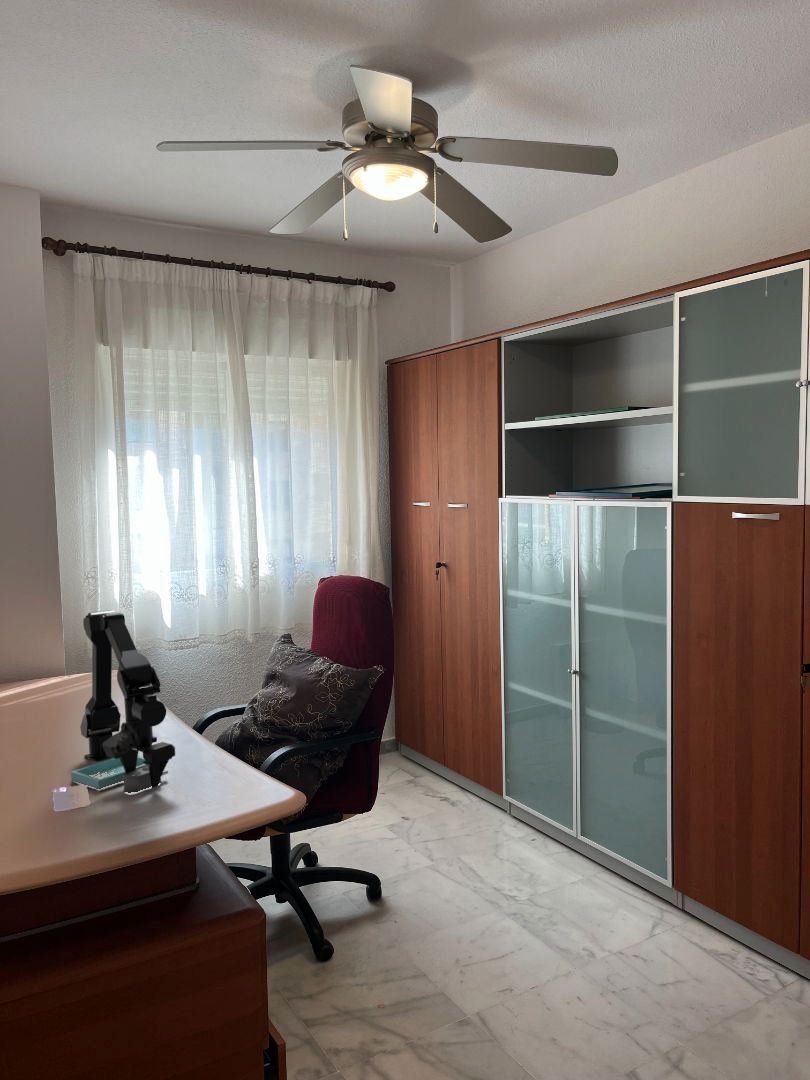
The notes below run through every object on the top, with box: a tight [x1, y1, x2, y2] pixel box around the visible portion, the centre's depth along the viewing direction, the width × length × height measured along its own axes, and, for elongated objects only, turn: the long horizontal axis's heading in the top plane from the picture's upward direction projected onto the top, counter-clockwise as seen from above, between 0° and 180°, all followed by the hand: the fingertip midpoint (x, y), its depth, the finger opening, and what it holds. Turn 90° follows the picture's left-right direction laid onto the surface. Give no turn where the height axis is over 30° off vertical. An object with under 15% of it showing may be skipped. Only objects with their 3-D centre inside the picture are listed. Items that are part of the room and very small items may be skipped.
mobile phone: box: [51, 785, 80, 811], centre depth 178 cm, size 8×1×15 cm
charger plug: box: [123, 766, 169, 793], centre depth 183 cm, size 11×4×4 cm, turn 143°
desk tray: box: [70, 755, 147, 789], centre depth 191 cm, size 12×16×2 cm
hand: (142, 783), depth 182 cm, fingers open, 9 cm apart
